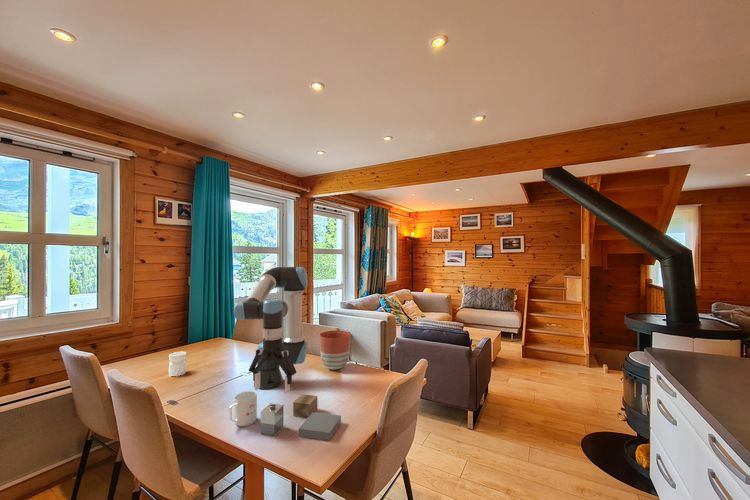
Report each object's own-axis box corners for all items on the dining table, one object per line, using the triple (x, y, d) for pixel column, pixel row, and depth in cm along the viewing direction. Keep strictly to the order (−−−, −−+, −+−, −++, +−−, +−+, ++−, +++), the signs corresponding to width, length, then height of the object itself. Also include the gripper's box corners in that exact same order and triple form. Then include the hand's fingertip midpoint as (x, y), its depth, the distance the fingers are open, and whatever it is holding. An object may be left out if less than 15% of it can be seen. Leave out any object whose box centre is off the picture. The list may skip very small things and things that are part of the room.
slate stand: (298, 436, 120) (298, 428, 120) (312, 419, 132) (312, 412, 132) (329, 440, 117) (329, 432, 117) (341, 422, 129) (341, 415, 130)
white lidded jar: (169, 378, 177) (170, 357, 177) (167, 373, 183) (167, 353, 184) (187, 374, 183) (187, 354, 183) (184, 370, 189) (184, 350, 189)
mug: (248, 414, 136) (248, 389, 136) (261, 420, 132) (261, 394, 132) (222, 427, 126) (223, 400, 126) (236, 433, 121) (236, 405, 122)
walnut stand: (293, 415, 135) (293, 402, 135) (301, 407, 143) (301, 394, 143) (309, 418, 133) (310, 404, 133) (317, 408, 141) (317, 395, 141)
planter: (356, 366, 195) (356, 332, 195) (337, 376, 179) (337, 340, 179) (333, 360, 205) (333, 328, 206) (312, 370, 189) (312, 335, 189)
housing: (260, 434, 121) (260, 409, 121) (270, 424, 128) (270, 401, 128) (274, 436, 120) (274, 411, 120) (283, 426, 127) (283, 402, 127)
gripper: (240, 338, 124) (239, 391, 123) (296, 342, 118) (295, 397, 117) (251, 334, 131) (250, 384, 130) (304, 337, 125) (304, 389, 125)
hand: (272, 390), depth 124 cm, fingers open, 13 cm apart
